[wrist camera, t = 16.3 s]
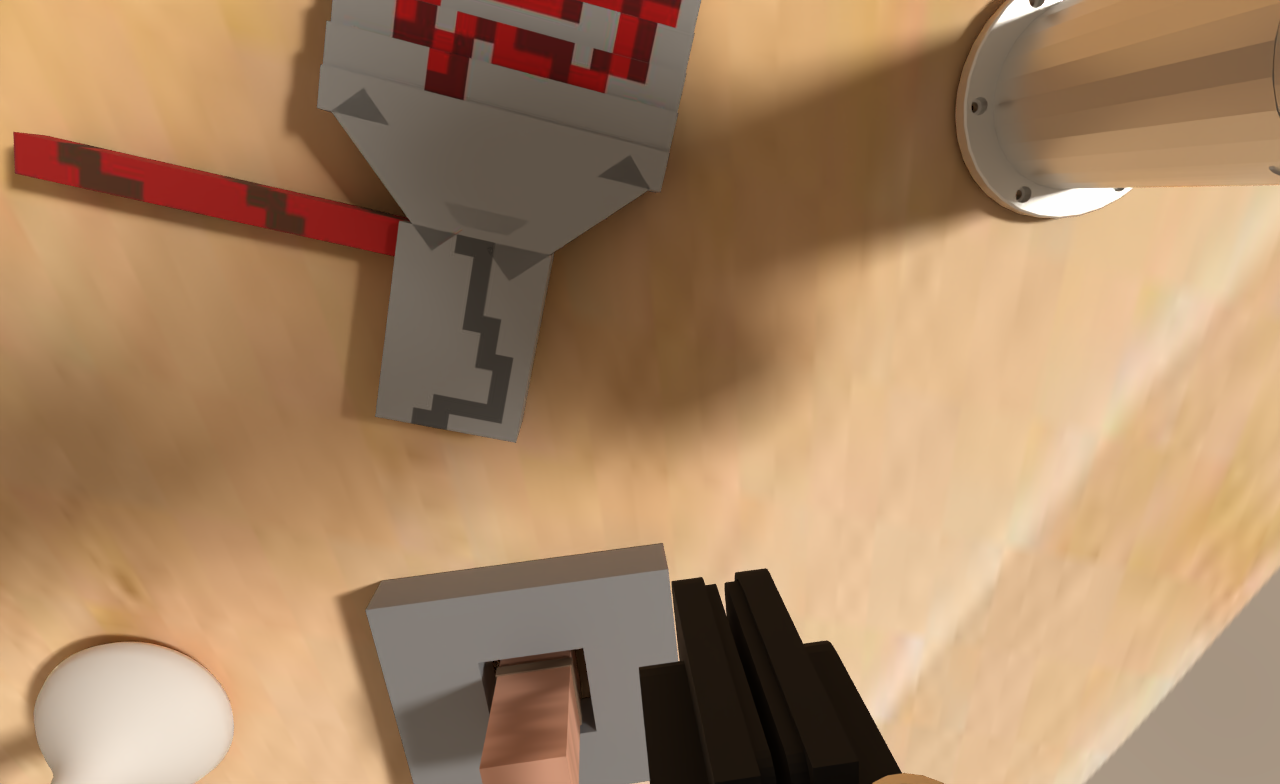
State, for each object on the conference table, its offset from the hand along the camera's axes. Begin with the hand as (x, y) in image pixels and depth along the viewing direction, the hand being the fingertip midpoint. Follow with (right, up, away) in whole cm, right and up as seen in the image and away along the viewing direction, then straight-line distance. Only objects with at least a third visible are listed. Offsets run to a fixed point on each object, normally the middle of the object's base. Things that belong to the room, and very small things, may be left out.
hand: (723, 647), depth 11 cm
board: (-8, -14, +32) cm, 36 cm away
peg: (-8, -14, +32) cm, 36 cm away
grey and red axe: (-16, +16, +23) cm, 32 cm away
